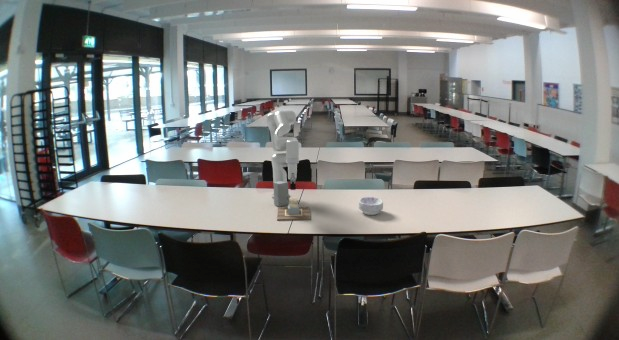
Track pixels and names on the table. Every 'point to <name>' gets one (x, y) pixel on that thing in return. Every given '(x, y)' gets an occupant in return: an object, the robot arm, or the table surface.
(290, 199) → the maple cube
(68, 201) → the table surface
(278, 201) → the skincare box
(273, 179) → the robot arm
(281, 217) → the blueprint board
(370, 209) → the paper bowls
